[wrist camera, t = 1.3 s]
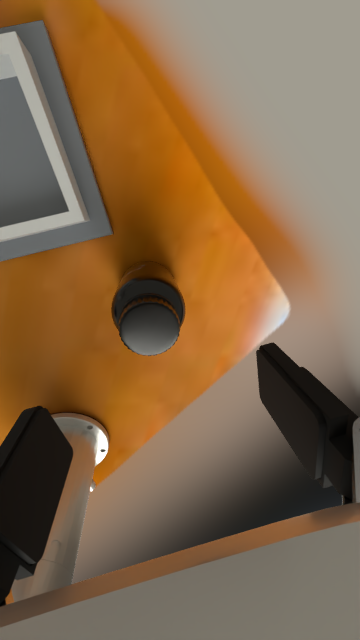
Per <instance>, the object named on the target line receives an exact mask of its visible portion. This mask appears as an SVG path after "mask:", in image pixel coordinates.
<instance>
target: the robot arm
mask: <svg viewBox="0 0 360 640" xmlns="http://www.w3.org/2000/svg"><path fill="white" fill-rule="evenodd" d="M256 354H257V367H258V379H259V392H260V398H261V401H262V403H263V404H264V406H265V407H266V409H267V410H268V412H269V414H270V415H271V417H272V418H273V420H274V421H275V423H276V424H277V426H278V427H279V429H280V431H281V432H282V434H283V435H284V437H285V438H286V440H287V441H288V443H289V445H290V446H291V448H292V449H293V451H294V452H295V454H296V456H297V457H298V459H299V460H300V462H301V463H302V465H303V466H304V468H305V469H306V471H307V472H308V474H309V475H310V477H311V478H312V479H317V480H318V481H319V483H320V484H321V486H322V487H323V488H325V487H329V486H332V485H333V486H334V487H335V489H336V490H337V492H338V493H339V494H341V495H342V506H337V507H332V508H327V509H323V510H320V511H316V512H312V513H309V514H305V515H301V516H298V517H294V518H290V519H287V520H283V521H279V522H276V523H273V524H269V525H266V526H262V527H259V528H256V529H253V530H249V531H246V532H242V533H239V534H236V535H232V536H229V537H226V538H222V539H219V540H216V541H212V542H209V543H206V544H202V545H199V546H195V547H192V548H189V549H186V550H182V551H179V552H176V553H172V554H169V555H166V556H163V557H159V558H156V559H153V560H149V561H146V562H143V563H140V564H136V565H133V566H130V567H127V568H123V569H120V570H117V571H113V572H110V573H107V574H104V575H100V576H97V577H94V578H91V579H88V580H84V581H81V582H78V583H75V584H71V583H72V579H73V573H74V568H75V563H76V559H77V554H78V548H79V543H80V538H81V533H82V528H83V523H84V518H85V513H86V508H87V503H88V498H89V493H90V492H91V491H93V490H94V488H95V486H96V484H95V482H94V480H93V479H92V478H93V473H94V468H95V466H96V465H97V464H99V463H100V462H101V461H102V460H103V459H104V457H105V456H106V454H107V452H108V447H109V436H108V433H107V431H106V429H105V428H104V427H103V426H102V425H101V424H100V423H99V422H97V421H96V420H94V419H92V418H90V417H88V416H85V415H81V414H76V413H58V414H53V415H51V414H50V413H49V411H48V410H47V409H46V408H43V407H41V406H36V407H33V408H29V409H26V410H24V411H23V412H22V413H21V415H20V416H19V418H18V419H17V421H16V423H15V424H14V426H13V427H12V429H11V430H10V432H9V433H8V435H7V437H6V438H5V440H4V441H3V443H2V444H1V446H0V640H360V418H359V417H358V416H357V415H356V414H354V413H353V412H352V411H351V410H350V409H349V408H348V407H347V406H346V405H345V404H344V403H343V402H342V401H340V400H339V399H338V398H337V397H336V396H335V395H334V394H333V393H332V392H330V390H328V389H327V388H326V387H325V386H324V385H323V384H322V383H321V382H320V381H319V380H318V379H317V378H315V377H314V376H313V375H312V374H311V373H310V372H309V371H308V370H307V369H305V368H304V367H299V366H298V365H297V364H296V363H295V362H294V361H293V360H291V358H290V357H288V356H287V355H286V354H285V353H284V352H283V351H282V350H281V349H280V348H279V347H278V346H277V345H276V344H275V343H269V344H265V345H262V346H260V348H259V350H257V351H256Z"/></svg>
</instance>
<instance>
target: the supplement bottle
mask: <svg viewBox="0 0 360 640" xmlns="http://www.w3.org/2000/svg"><path fill="white" fill-rule="evenodd" d="M111 313H112V318H113V322H114V324H115V326H116V328H117V329H118V330H119V335H120V337H121V340H122V341H123V342H124V345H125V346H127V347H128V349H130V350H132V351H133V352H136V353H137V354H142V355H148V356H151V355H157V354H161V353H162V352H165V351H167V349H170V348H171V346H173V345H174V343H175V341H177V337H178V336H179V331H180V327H181V326H182V324H183V321H184V318H185V303H184V299H183V296H182V294H181V292H180V290H179V288H178V286H177V284H176V282H175V280H174V278H173V276H172V274H171V273H170V272H169V270H168V269H167V268H165V267H164V266H163V265H161V264H159V263H156V262H151V261H144V262H139V263H136V264H134V265H133V266H131V267H130V268H129V269H128V270H127V271H126V272H125V273H124V275H123V277H122V279H121V281H120V284H119V286H118V288H117V291H116V293H115V295H114V298H113V302H112V308H111Z"/></svg>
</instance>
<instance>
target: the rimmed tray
mask: <svg viewBox="0 0 360 640" xmlns="http://www.w3.org/2000/svg"><path fill="white" fill-rule="evenodd" d="M111 234H113V231H112V228H111V225H110V222H109V219H108V215H107V212H106V209H105V206H104V203H103V200H102V197H101V194H100V191H99V188H98V185H97V181H96V178H95V175H94V172H93V169H92V166H91V163H90V160H89V157H88V154H87V151H86V148H85V144H84V141H83V138H82V135H81V132H80V129H79V126H78V123H77V120H76V117H75V114H74V111H73V107H72V104H71V101H70V98H69V95H68V92H67V89H66V86H65V83H64V80H63V77H62V73H61V70H60V67H59V64H58V61H57V58H56V55H55V52H54V49H53V46H52V43H51V40H50V36H49V33H48V30H47V28H46V26H45V24H44V22H43V20H40V21H35V22H30V23H25V24H19V25H14V26H9V27H4V28H0V261H4V260H8V259H12V258H17V257H21V256H25V255H29V254H33V253H37V252H41V251H45V250H50V249H54V248H58V247H62V246H66V245H70V244H74V243H78V242H82V241H87V240H91V239H95V238H99V237H103V236H107V235H111Z"/></svg>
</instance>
